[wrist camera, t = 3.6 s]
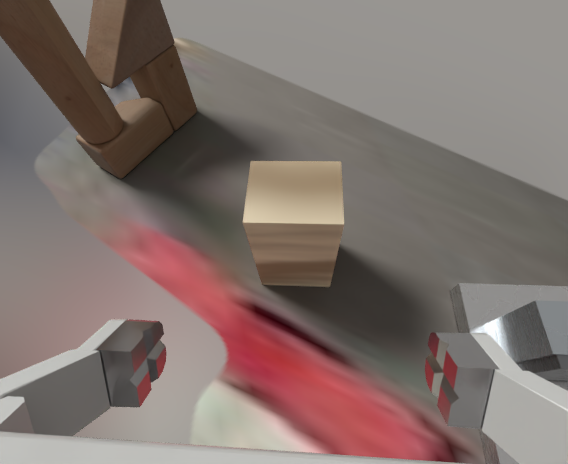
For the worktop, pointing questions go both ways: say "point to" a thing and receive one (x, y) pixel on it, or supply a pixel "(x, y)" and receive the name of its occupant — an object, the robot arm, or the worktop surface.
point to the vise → (518, 332)
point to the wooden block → (105, 74)
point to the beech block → (294, 220)
